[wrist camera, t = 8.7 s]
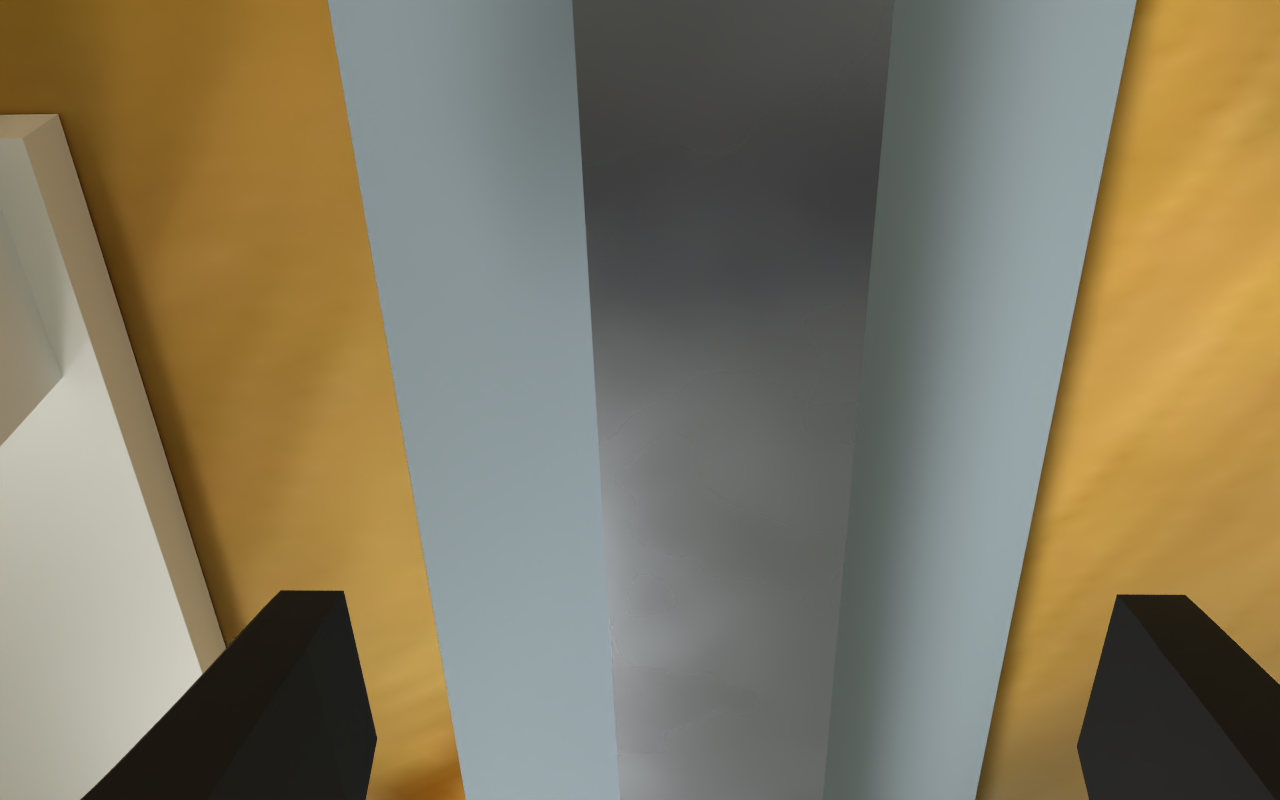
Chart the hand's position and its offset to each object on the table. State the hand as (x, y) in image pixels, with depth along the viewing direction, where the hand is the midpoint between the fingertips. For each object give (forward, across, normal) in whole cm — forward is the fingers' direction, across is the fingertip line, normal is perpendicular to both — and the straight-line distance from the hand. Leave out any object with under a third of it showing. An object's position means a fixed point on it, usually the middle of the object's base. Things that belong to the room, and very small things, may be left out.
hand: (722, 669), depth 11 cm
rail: (+4, 0, 0) cm, 4 cm away
